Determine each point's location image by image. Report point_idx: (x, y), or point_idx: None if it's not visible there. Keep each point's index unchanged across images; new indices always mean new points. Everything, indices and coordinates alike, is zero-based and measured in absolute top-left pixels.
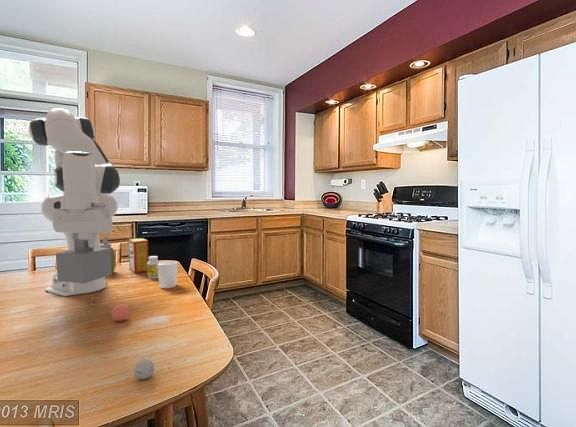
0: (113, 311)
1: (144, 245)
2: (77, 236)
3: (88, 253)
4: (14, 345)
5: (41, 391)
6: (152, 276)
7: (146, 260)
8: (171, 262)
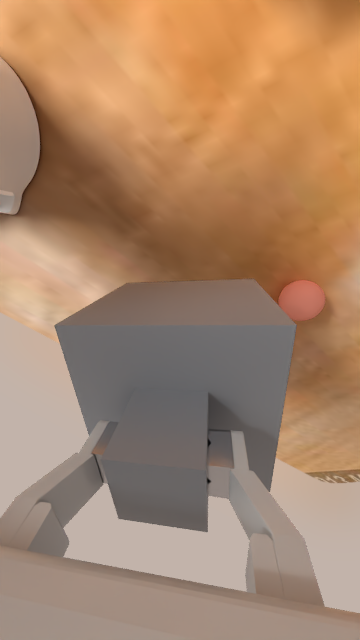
0: (296, 319)
1: None
2: (50, 494)
3: (273, 465)
4: None
5: (333, 462)
6: None
7: None
8: None
